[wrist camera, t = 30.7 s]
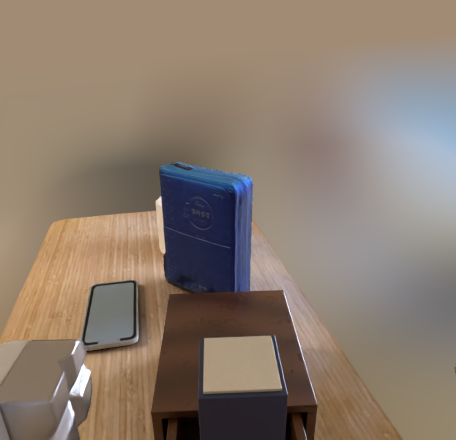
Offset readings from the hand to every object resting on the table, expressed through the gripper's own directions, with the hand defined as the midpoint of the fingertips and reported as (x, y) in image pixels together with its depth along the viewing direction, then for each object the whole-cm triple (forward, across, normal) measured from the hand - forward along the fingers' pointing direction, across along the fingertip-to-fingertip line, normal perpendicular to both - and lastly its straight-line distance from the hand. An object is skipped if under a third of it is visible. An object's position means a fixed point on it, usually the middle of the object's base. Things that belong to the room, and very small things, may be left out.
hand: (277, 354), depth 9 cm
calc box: (+12, 0, -28) cm, 30 cm away
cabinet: (+25, 0, -30) cm, 39 cm away
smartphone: (+42, -16, -30) cm, 54 cm away
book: (+46, -3, -30) cm, 55 cm away
